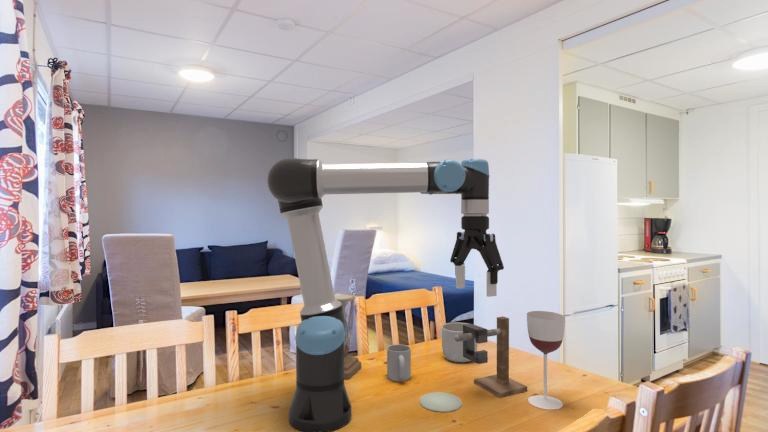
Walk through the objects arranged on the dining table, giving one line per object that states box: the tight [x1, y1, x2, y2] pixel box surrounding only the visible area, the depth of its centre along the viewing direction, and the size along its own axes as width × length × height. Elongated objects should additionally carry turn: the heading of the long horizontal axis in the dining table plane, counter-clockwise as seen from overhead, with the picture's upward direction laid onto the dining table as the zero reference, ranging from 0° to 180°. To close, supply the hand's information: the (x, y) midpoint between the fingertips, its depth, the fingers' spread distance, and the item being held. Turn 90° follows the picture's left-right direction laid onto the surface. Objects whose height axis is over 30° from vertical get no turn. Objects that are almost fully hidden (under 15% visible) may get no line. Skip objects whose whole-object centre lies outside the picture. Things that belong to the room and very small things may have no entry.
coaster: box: [419, 391, 463, 413], centre depth 115 cm, size 11×11×1 cm
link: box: [463, 323, 489, 365], centre depth 121 cm, size 3×7×9 cm, turn 26°
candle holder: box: [334, 292, 362, 380], centre depth 137 cm, size 11×11×24 cm
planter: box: [440, 321, 478, 363], centre depth 149 cm, size 12×12×11 cm
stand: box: [455, 316, 528, 399], centre depth 123 cm, size 20×11×20 cm, turn 116°
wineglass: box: [526, 310, 566, 410], centre depth 115 cm, size 9×10×23 cm
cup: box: [386, 344, 412, 383], centre depth 131 cm, size 7×10×9 cm
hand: (475, 292), depth 121 cm, fingers open, 13 cm apart
